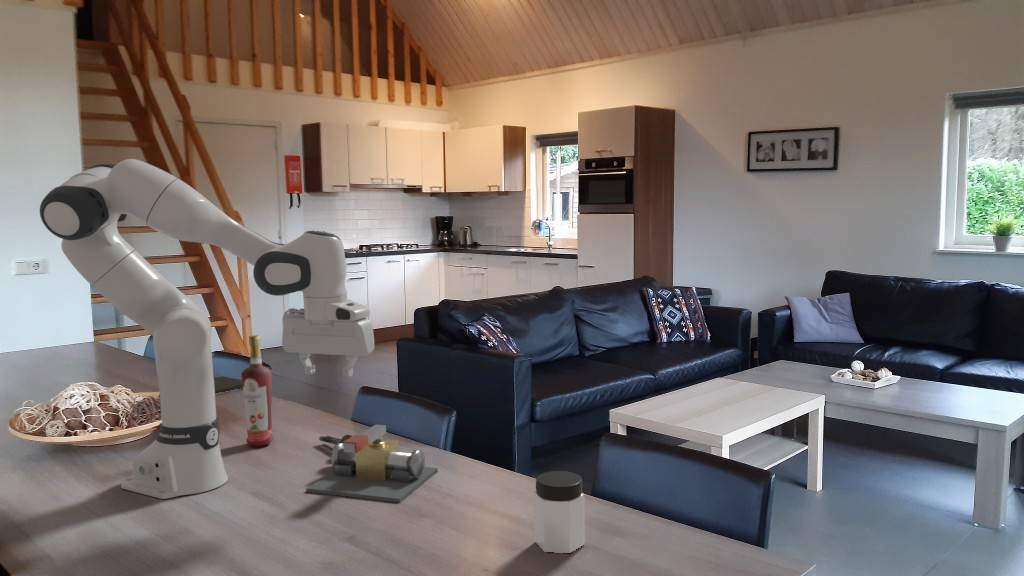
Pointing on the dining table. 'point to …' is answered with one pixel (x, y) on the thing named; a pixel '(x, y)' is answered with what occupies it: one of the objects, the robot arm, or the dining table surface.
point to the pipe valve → (378, 462)
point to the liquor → (257, 397)
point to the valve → (334, 439)
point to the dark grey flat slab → (226, 384)
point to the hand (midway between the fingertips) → (328, 374)
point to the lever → (364, 439)
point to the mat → (369, 486)
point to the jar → (559, 512)
